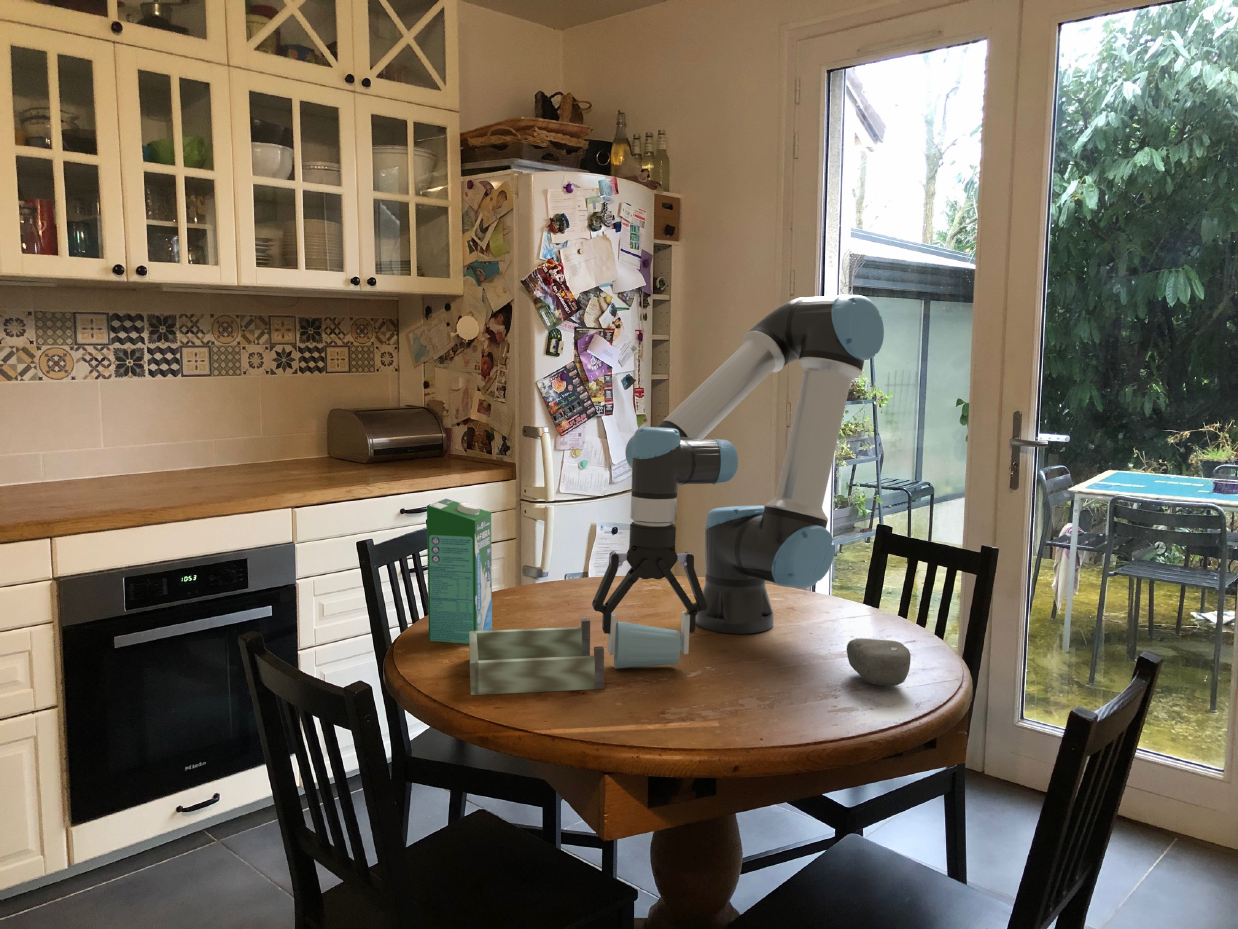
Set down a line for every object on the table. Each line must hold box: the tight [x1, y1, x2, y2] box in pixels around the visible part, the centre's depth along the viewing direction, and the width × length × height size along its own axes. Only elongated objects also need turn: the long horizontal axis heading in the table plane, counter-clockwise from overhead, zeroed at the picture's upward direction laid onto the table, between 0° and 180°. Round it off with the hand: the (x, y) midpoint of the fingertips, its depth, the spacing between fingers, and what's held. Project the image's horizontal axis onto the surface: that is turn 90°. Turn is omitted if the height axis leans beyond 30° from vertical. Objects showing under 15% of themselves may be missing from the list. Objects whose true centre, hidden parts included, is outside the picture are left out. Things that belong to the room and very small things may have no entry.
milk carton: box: [426, 498, 493, 645], centre depth 178 cm, size 9×9×25 cm
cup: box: [613, 620, 681, 669], centre depth 161 cm, size 8×8×10 cm
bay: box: [468, 618, 605, 696], centre depth 158 cm, size 20×18×6 cm
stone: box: [846, 638, 911, 687], centre depth 156 cm, size 9×9×10 cm
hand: (647, 652), depth 161 cm, fingers closed on cup, 12 cm apart
